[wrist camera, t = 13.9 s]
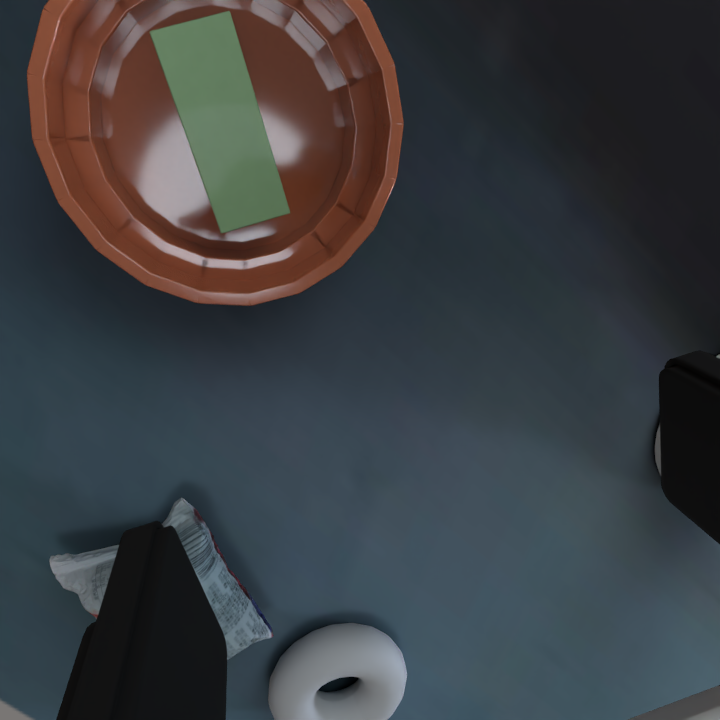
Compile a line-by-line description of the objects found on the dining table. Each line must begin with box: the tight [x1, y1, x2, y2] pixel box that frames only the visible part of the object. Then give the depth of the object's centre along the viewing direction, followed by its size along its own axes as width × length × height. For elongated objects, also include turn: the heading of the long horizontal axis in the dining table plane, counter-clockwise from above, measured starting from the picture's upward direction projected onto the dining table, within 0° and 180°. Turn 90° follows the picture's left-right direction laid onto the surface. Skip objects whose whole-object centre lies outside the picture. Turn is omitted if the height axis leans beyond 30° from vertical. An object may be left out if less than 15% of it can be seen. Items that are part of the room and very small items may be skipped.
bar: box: [150, 11, 290, 233], centre depth 25 cm, size 8×3×4 cm, turn 15°
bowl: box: [27, 0, 404, 306], centre depth 25 cm, size 14×14×6 cm
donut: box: [268, 623, 407, 720], centre depth 40 cm, size 10×4×10 cm
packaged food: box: [49, 498, 274, 660], centre depth 34 cm, size 9×12×5 cm
